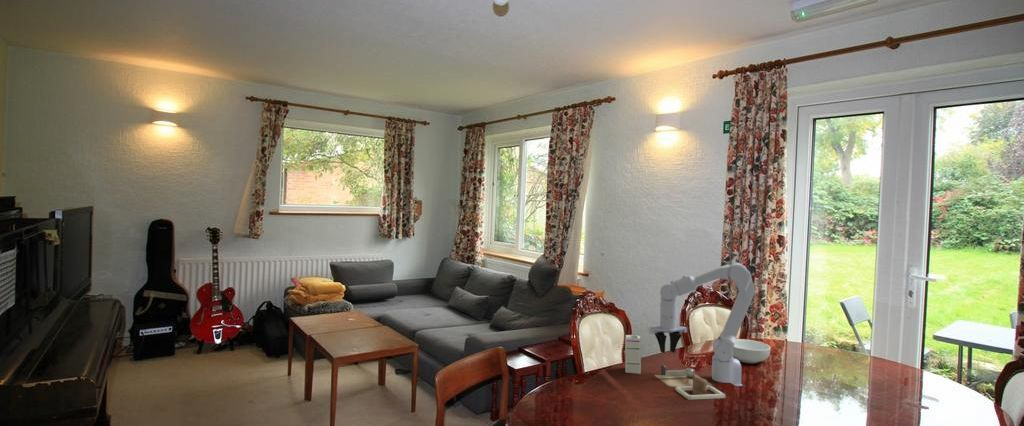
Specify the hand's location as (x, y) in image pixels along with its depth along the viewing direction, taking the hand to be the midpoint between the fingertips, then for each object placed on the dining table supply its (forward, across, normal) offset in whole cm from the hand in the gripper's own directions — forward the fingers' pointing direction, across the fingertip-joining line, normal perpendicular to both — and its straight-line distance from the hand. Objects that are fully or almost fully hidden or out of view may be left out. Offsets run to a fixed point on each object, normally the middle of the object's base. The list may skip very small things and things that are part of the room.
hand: (667, 352), depth 187 cm
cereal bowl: (+10, +45, +14) cm, 48 cm away
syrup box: (+10, -12, +4) cm, 16 cm away
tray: (+9, 0, -22) cm, 23 cm away
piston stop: (+9, 0, -21) cm, 23 cm away
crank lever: (+7, +1, -6) cm, 10 cm away
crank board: (+9, +2, -8) cm, 13 cm away
